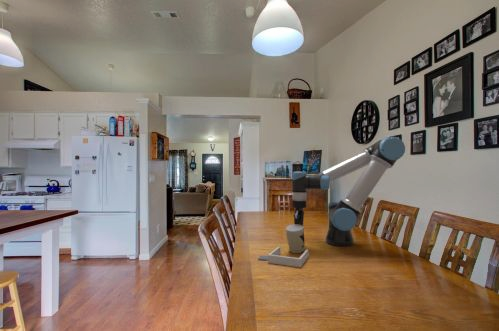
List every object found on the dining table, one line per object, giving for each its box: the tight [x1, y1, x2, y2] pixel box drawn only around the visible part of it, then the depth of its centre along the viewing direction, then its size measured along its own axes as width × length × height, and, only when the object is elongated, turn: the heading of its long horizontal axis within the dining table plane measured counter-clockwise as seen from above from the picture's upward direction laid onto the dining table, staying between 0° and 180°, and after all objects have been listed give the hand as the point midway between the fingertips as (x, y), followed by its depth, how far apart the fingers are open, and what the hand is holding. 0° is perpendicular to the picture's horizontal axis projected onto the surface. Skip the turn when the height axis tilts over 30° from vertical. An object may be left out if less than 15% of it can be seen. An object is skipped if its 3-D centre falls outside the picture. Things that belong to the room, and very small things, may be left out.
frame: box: [267, 246, 309, 268], centre depth 127 cm, size 15×15×4 cm
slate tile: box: [257, 254, 268, 262], centre depth 129 cm, size 5×5×1 cm
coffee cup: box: [285, 223, 306, 254], centre depth 139 cm, size 9×9×12 cm
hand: (298, 243), depth 147 cm, fingers closed
